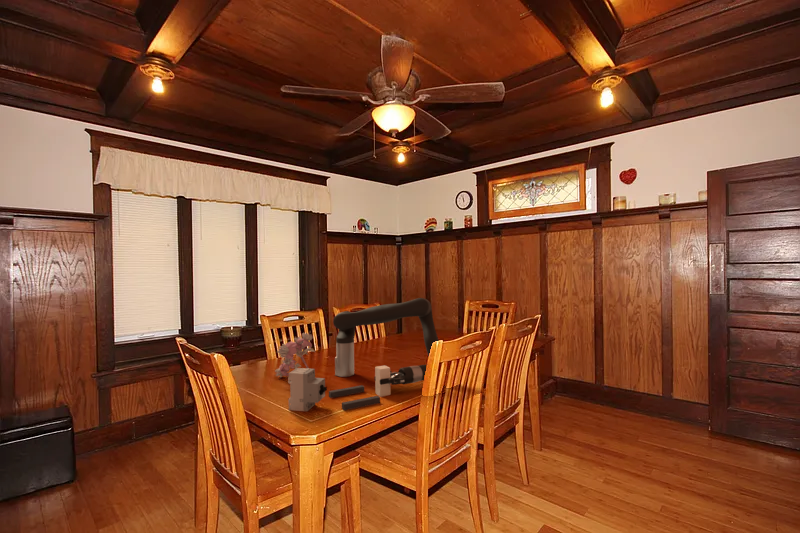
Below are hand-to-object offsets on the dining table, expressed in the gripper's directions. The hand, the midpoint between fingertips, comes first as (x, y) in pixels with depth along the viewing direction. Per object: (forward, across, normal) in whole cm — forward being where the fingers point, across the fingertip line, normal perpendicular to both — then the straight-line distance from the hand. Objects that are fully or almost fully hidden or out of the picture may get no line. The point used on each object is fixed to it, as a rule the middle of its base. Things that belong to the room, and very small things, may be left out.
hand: (377, 380), depth 172 cm
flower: (+27, -47, +7) cm, 54 cm away
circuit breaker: (+31, -1, +7) cm, 31 cm away
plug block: (-3, 0, +6) cm, 7 cm away
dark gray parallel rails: (+11, 0, +6) cm, 13 cm away
